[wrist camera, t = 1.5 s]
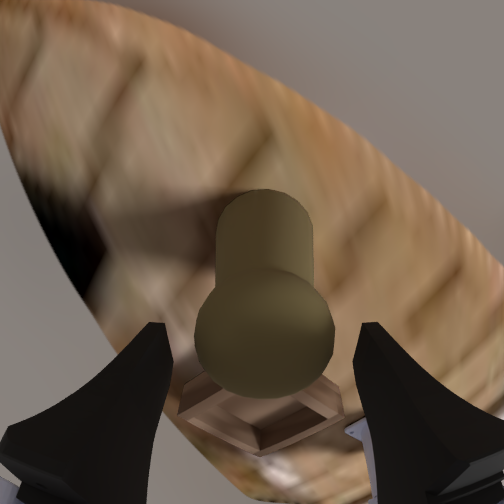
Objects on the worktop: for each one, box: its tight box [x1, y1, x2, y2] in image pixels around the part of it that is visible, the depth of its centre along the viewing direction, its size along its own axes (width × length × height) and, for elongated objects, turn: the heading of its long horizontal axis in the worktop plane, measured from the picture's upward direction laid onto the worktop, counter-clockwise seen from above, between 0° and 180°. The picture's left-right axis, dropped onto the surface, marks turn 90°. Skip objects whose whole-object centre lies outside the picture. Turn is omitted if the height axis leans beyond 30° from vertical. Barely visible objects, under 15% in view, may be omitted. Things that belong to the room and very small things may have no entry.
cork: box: [194, 189, 335, 399], centre depth 15 cm, size 6×6×11 cm
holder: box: [177, 371, 345, 457], centre depth 25 cm, size 10×10×4 cm
